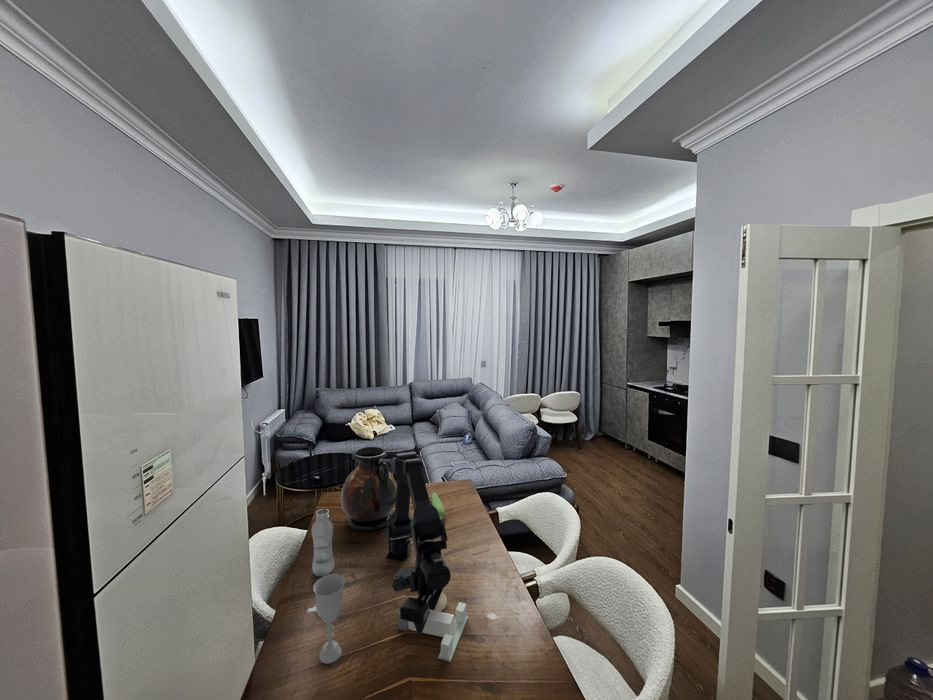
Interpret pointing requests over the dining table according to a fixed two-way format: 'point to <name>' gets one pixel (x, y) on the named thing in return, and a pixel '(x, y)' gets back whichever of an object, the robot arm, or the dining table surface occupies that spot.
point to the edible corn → (438, 505)
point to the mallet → (432, 624)
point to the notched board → (454, 634)
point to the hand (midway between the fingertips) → (425, 622)
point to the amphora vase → (369, 490)
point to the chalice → (329, 611)
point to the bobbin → (441, 603)
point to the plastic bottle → (322, 544)
